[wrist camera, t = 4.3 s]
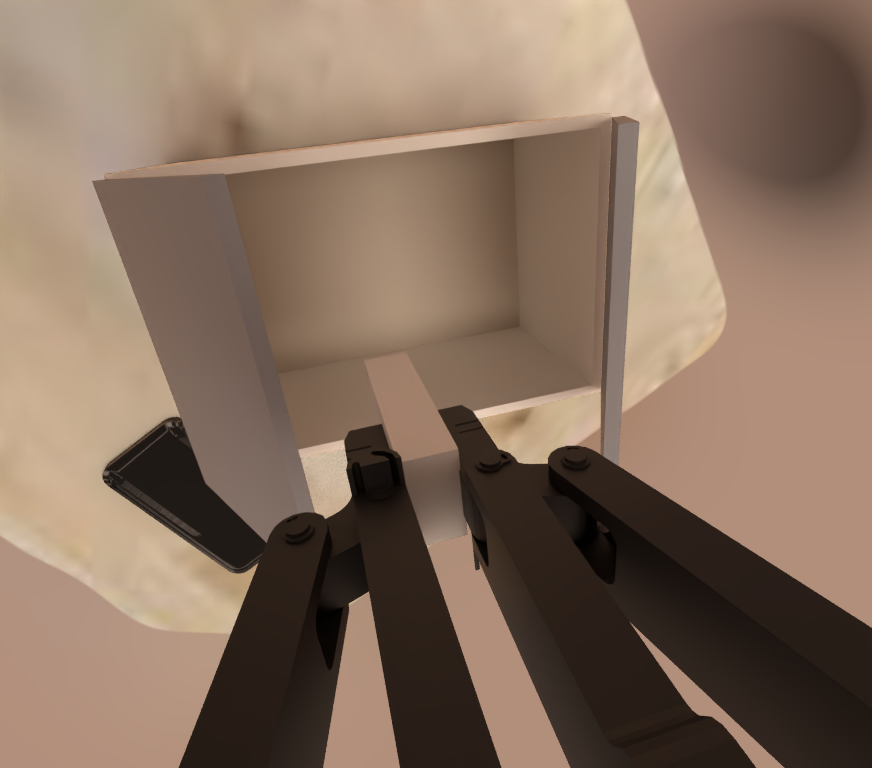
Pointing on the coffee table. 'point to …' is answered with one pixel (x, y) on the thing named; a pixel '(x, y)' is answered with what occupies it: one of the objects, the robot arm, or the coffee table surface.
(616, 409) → the flap
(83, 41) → the coffee table surface
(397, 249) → the carton
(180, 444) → the phone
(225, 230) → the flap
